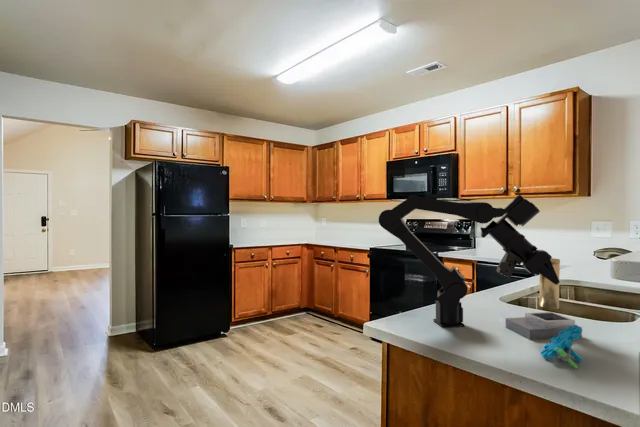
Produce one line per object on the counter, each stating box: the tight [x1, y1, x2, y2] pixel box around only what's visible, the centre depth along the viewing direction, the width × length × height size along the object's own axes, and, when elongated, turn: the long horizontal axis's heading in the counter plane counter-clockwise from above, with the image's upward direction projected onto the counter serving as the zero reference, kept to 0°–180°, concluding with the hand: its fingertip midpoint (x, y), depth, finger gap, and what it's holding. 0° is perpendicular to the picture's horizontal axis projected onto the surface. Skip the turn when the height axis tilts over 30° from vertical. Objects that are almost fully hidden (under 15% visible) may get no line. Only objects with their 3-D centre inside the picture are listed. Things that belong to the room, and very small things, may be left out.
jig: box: [505, 311, 583, 340], centre depth 99 cm, size 14×10×4 cm
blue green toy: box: [540, 324, 583, 370], centre depth 80 cm, size 11×6×10 cm
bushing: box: [538, 257, 561, 310], centre depth 99 cm, size 5×5×12 cm
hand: (555, 281), depth 99 cm, fingers closed on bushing, 4 cm apart
